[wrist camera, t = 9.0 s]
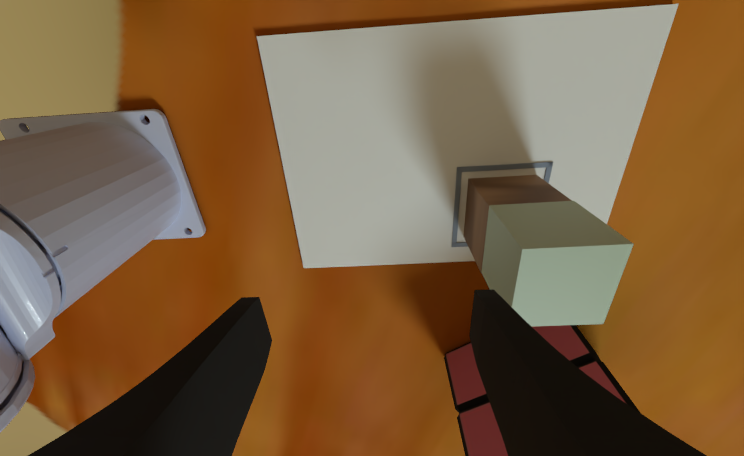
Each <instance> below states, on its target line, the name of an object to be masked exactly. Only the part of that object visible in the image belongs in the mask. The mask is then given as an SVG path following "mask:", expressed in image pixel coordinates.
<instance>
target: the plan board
mask: <svg viewBox="0 0 744 456" xmlns="http://www.w3.org/2000/svg"><path fill="white" fill-rule="evenodd" d="M677 7H678V4H668V5H655V6H642V7H629V8H616V9H603V10H590V11H577V12H564V13H552V14H539V15H526V16H513V17H500V18H487V19H474V20H461V21H448V22H435V23H422V24H409V25H396V26H383V27H370V28H357V29H344V30H331V31H318V32H305V33H293V34H280V35H267V36H257V41H258V45H259V50H260V55H261V60H262V65H263V70H264V75H265V80H266V85H267V90H268V95H269V100H270V105H271V110H272V114H273V119H274V124H275V129H276V134H277V139H278V144H279V149H280V154H281V159H282V164H283V169H284V174H285V178H286V183H287V188H288V193H289V198H290V203H291V208H292V213H293V218H294V223H295V228H296V233H297V238H298V243H299V247H300V252H301V257H302V262H303V267H304V268H321V267H345V266H368V265H392V264H416V263H440V262H464V261H475V260H474V257H473V255H472V253H471V251H470V249H469V247H468V245H467V243H466V241H465V239H464V237H463V236H464V224H465V212H466V200H467V189H468V178H486V177H505V176H524V175H538V176H539V177H540V178H542V179H543V180H545V181H546V182H547V183H549V184H550V185H551V186H553V187H554V188H555V189H557V190H558V191H560V192H561V193H562V194H564V195H565V196H566V197H568V198H569V199H570V200H572V201H575V202H577V203H578V204H579V205H581V206H582V207H583V208H585V209H586V210H588V211H589V212H590V213H592V214H593V215H594V216H596V217H597V218H599V219H600V220H601V221H603V222H604V223H606V224H607V222H608V219H609V216H610V213H611V210H612V207H613V203H614V200H615V197H616V194H617V191H618V188H619V185H620V182H621V179H622V176H623V173H624V170H625V167H626V164H627V161H628V157H629V154H630V151H631V148H632V145H633V142H634V139H635V136H636V133H637V130H638V127H639V124H640V121H641V118H642V115H643V111H644V108H645V105H646V102H647V99H648V96H649V93H650V90H651V87H652V84H653V81H654V78H655V75H656V72H657V69H658V65H659V62H660V59H661V56H662V53H663V50H664V47H665V44H666V41H667V38H668V35H669V32H670V29H671V26H672V23H673V20H674V16H675V13H676V10H677Z"/></svg>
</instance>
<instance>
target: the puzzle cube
mask: <svg viewBox="0 0 744 456" xmlns="http://www.w3.org/2000/svg"><path fill="white" fill-rule="evenodd" d="M532 328H534V329H535V330H536V331H537V332H538V333H539V334H540V335H541V336H542V337H543V338H544V339H545V340H546V341H548V342H549V343H550V344H551V345H552V346H553V347H554V348H555V349H556V350H558V351H559V352H560V353H561V354H562V355H564V356H565V357H566V358H567V359H568V360H569V361H571V362H572V363H573V364H574V365H575V366H577V367H578V368H579V369H580V370H582V371H583V372H584V373H585V374H587V375H588V376H589V377H591V378H592V379H593V380H595V381H596V382H597V383H599V384H600V385H601V386H603V387H604V388H605V389H607V390H608V391H609V392H611V393H612V394H613V395H615V396H616V397H617V398H619V399H620V400H622V401H623V402H625V403H626V404H627V405H629V406H630V407H632V408H633V409H635V410H636V411H638V412H639V410H638V409H637V408H636V406H635V405H634V403H633V402H632V401H631V399H630V398H629V397H628V395H627V394H626V393H625V391H624V390H623V389H622V387H621V386H620V385H619V383H618V382H617V380H616V379H615V378H614V376H613V375H612V374H611V372H610V371H609V370H608V368H607V367H606V366H605V364H604V363H603V362H601V360H600V359H599V357H598V355H597V353H596V352H595V351H594V349H593V348H592V347H591V345H590V344H589V343H588V341H587V340H586V339H585V337H584V336H583V334H582V333H581V332H580V330H579V329H578V328H577V326H576V325H562V326H534V327H532ZM444 359H445V364H446V369H447V373H448V378H449V382H450V387H451V391H452V396H453V401H454V405H455V409H456V410H457V411H458V412H459V415H458V417H457V419H458V424H459V428H460V433H461V437H462V442H463V447H464V451H465V456H508V454H507V451H506V448H505V444H504V441H503V438H502V435H501V433H500V430H499V427H498V424H497V421H496V419H495V416H494V413H493V410H492V408H491V405H490V402H489V399H488V396H487V394H486V391H485V388H484V385H483V382H482V380H481V377H480V374H479V371H478V368H477V365H476V361H475V357H474V353H473V349H472V344H471V343H469V344H467V345H465V346H462V347H460V348H458V349H456V350H454V351H451V352H449V353H447V354H446V355H445V357H444ZM639 413H640V412H639Z"/></svg>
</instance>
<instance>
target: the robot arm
mask: <svg viewBox="0 0 744 456" xmlns="http://www.w3.org/2000/svg"><path fill="white" fill-rule="evenodd" d="M145 115H146V116H147V117H148V118H149V120H150V123H148V122H146V120H145ZM26 125H27V126H28V127H29V129H28V128H27V126H26ZM0 131H1V132H2V134H3V136H4V137H5V139H6V140H2V141H0V432H1V431H2V430H3V429H4V428H5V427H6V426H7V425H8V424H9V423H10V422H11V420H12V419H13V418H14V417H15V416H16V415H17V413H18V412H19V411H20V409H21V408H22V406H23V405H24V403H25V402H26V400H27V399H28V397H29V395H30V392H31V390H32V388H33V384H34V380H35V372H34V366H33V364H32V362H31V361H30V358H31V357H32V356H33V355H35V354H36V353H37V352H38V351H39V350H40V349H42V348H43V347H44V346H45V345H46V344H47V343H49V342H50V341H51V340H52V339H53V338H54V337H55V333H54V331H53V329H52V321H53V319H54V318H55V317H56V316H58V315H59V314H60V313H61V312H63V311H64V310H65V309H66V308H68V307H69V306H70V305H71V304H73V303H74V302H75V301H76V300H78V299H79V298H80V297H81V296H83V295H84V294H85V293H86V292H88V291H89V290H90V289H91V288H93V287H94V286H95V285H96V284H98V283H99V282H100V281H101V280H103V279H104V278H105V277H106V276H108V275H109V274H110V273H111V272H113V271H114V270H115V269H116V268H118V267H119V266H120V265H121V264H123V263H124V262H125V261H126V260H128V259H129V258H130V257H131V256H133V255H134V254H135V253H136V252H138V251H139V250H140V249H141V248H143V247H144V246H145V245H147V244H148V243H149V242H150V241H152V240H153V239H175V238H196V237H201V236H203V235H204V234H205V232H206V228H205V225H204V222H203V219H202V217H201V214H200V211H199V208H198V205H197V203H196V200H195V197H194V194H193V191H192V189H191V186H190V183H189V180H188V177H187V175H186V172H185V169H184V166H183V163H182V161H181V158H180V155H179V152H178V149H177V147H176V144H175V141H174V138H173V135H172V133H171V130H170V127H169V124H168V121H167V119H166V116H165V115H164V113H163V112H162V111H160V110H158V109H145V110H130V111H115V112H102V113H101V112H100V113H86V114H73V115H72V114H71V115H57V116H41V117H27V118H11V119H3V120H1V121H0ZM187 228H189V229H191V230H192V232H190V231H189V230H188V229H187ZM470 340H471V344H472V349H473V353H474V357H475V361H476V365H477V368H478V371H479V374H480V377H481V380H482V382H483V385H484V388H485V391H486V394H487V396H488V399H489V402H490V405H491V408H492V410H493V413H494V416H495V419H496V421H497V424H498V427H499V430H500V433H501V435H502V438H503V441H504V444H505V448H506V451H507V454H508V456H706V455H705V454H703V453H701V452H700V451H698V450H696V449H695V448H693V447H692V446H690V445H688V444H687V443H685V442H684V441H682V440H680V439H679V438H677V437H676V436H674V435H672V434H671V433H669V432H668V431H666V430H665V429H663V428H662V427H660V426H659V425H657V424H656V423H654V422H653V421H651V420H650V419H648V418H647V417H645V416H644V415H642V414H641V413H639V412H638V411H636V410H635V409H633V408H632V407H630V406H629V405H627V404H626V403H625V402H623V401H622V400H620V399H619V398H617V397H616V396H615V395H613V394H612V393H611V392H609V391H608V390H607V389H605V388H604V387H603V386H601V385H600V384H599V383H597V382H596V381H595V380H593V379H592V378H591V377H589V376H588V375H587V374H585V373H584V372H583V371H582V370H580V369H579V368H578V367H577V366H575V365H574V364H573V363H572V362H571V361H569V360H568V359H567V358H566V357H565V356H564V355H562V354H561V353H560V352H559V351H558V350H556V349H555V348H554V347H553V346H552V345H551V344H550V343H549V342H548V341H546V340H545V339H544V338H543V337H542V336H541V335H540V334H539V333H538V332H537V331H536V330H535V329H534V328H532V327H531V326H530V325H529V324H528V323H527V322H526V321H525V320H524V319H523V318H522V317H521V316H520V315H519V314H518V313H517V312H516V311H515V310H514V309H513V308H512V307H511V306H510V305H509V304H508V303H507V302H506V301H505V300H504V299H503V298H502V297H501V296H500V295H499V294H498V293H497V292H496V291H495V290H494V289H491V290H475V292H474V301H473V309H472V318H471V327H470ZM271 343H272V339H271V335H270V332H269V329H268V325H267V322H266V319H265V315H264V312H263V309H262V305H261V302H260V299H259V297H248V298H241V299H239V300H238V301H237V302H236V303H235V304H233V305H232V306H231V307H230V308H229V309H228V310H227V311H226V312H224V313H223V314H222V315H221V316H220V317H219V318H218V319H217V320H216V321H214V322H213V323H212V324H211V325H210V326H209V327H208V328H207V329H205V330H204V331H203V332H202V333H201V334H200V335H199V336H197V337H196V338H195V339H194V340H193V341H192V342H191V343H189V344H188V345H187V346H186V347H185V348H183V349H182V350H181V351H180V352H178V353H177V354H176V355H175V356H174V357H172V358H171V359H170V360H169V361H167V362H166V363H165V364H164V365H163V366H161V367H160V368H159V369H158V370H156V371H155V372H154V373H153V374H151V375H150V376H149V377H147V378H146V379H145V380H143V381H142V382H141V383H139V384H138V385H137V386H135V387H134V388H132V389H131V390H130V391H128V392H127V393H125V394H124V395H123V396H121V397H120V398H118V399H117V400H116V401H114V402H113V403H111V404H110V405H108V406H107V407H105V408H104V409H102V410H101V411H99V412H98V413H96V414H94V415H93V416H91V417H90V418H88V419H87V420H85V421H84V422H82V423H81V424H79V425H77V426H76V427H74V428H73V429H71V430H70V431H68V432H67V433H65V434H63V435H62V436H60V437H59V438H57V439H55V440H54V441H52V442H50V443H49V444H47V445H46V446H44V447H42V448H40V449H39V450H37V451H35V452H34V453H32V454H30V455H28V456H232V453H233V451H234V448H235V445H236V442H237V439H238V437H239V434H240V432H241V429H242V427H243V424H244V421H245V419H246V416H247V414H248V411H249V409H250V406H251V404H252V401H253V399H254V396H255V394H256V391H257V388H258V386H259V383H260V381H261V378H262V375H263V373H264V370H265V366H266V363H267V359H268V355H269V351H270V347H271Z"/></svg>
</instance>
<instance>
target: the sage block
mask: <svg viewBox="0 0 744 456" xmlns="http://www.w3.org/2000/svg"><path fill="white" fill-rule="evenodd" d="M632 247H633V243H632V242H630V241H629V240H628V239H626V238H625V237H623V236H622V235H621V234H619V233H618V232H617V231H615V230H614V229H612V228H611V227H610V226H608V225H607V224H606V223H604V222H603V221H601V220H600V219H599V218H597V217H596V216H594V215H593V214H592V213H590V212H589V211H588V210H586V209H585V208H583V207H582V206H581V205H579V204H578V203H577V202H575V201H559V202H541V203H523V204H504V205H489V212H488V220H487V229H486V237H485V246H484V255H483V263H482V274H483V277H484V279H485V281H486V283H487V285H488V287H489V289H490V290H491V289H494V290H495V291H496V292H497V293H498V294H499V295H500V296H501V297H502V298H503V299H504V300H505V301H506V302H507V303H508V304H509V305H510V306H511V307H512V308H513V309H514V310H515V311H516V312H517V313H518V314H519V315H520V316H521V317H522V318H523V319H524V320H525V321H526V322H527V323H528V324H529V325H530V326H531V327H534V326H562V325H590V324H604V321H605V318H606V316H607V313H608V310H609V308H610V305H611V303H612V300H613V297H614V295H615V292H616V289H617V287H618V284H619V281H620V279H621V276H622V273H623V271H624V268H625V266H626V263H627V260H628V258H629V255H630V252H631V250H632Z"/></svg>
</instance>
